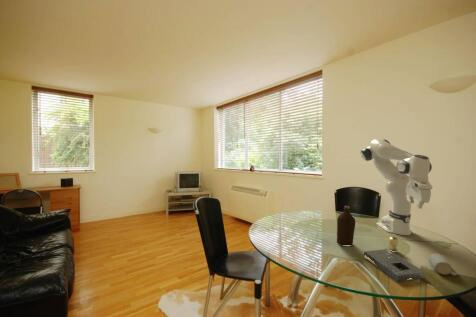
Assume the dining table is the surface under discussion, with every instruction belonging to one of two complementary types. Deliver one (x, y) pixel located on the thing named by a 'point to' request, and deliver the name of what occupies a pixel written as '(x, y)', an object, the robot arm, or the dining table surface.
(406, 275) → the metal jig
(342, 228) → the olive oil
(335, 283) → the dining table surface
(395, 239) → the brass bushing
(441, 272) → the ceramic mug
